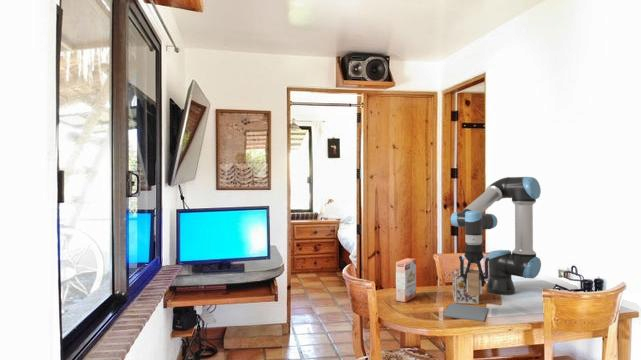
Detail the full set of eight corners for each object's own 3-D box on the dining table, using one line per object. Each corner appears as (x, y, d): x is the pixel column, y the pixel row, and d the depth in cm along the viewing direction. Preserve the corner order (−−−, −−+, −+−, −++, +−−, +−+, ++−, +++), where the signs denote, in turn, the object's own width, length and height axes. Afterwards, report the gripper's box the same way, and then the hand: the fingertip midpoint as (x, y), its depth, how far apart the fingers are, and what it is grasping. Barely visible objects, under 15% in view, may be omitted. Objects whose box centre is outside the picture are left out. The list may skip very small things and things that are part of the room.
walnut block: (470, 290, 197) (469, 269, 197) (481, 291, 194) (480, 270, 194) (467, 294, 189) (467, 273, 189) (478, 296, 186) (478, 274, 186)
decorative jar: (479, 305, 205) (478, 269, 205) (455, 304, 207) (454, 269, 207) (475, 298, 216) (474, 264, 216) (452, 297, 219) (451, 264, 219)
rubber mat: (450, 304, 206) (450, 303, 206) (488, 309, 198) (488, 307, 198) (442, 316, 189) (442, 315, 189) (484, 321, 180) (483, 320, 180)
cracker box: (406, 303, 210) (405, 263, 210) (395, 301, 213) (394, 261, 213) (417, 296, 221) (416, 258, 221) (407, 295, 225) (406, 257, 225)
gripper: (452, 243, 192) (453, 292, 192) (493, 245, 184) (494, 296, 184) (455, 241, 199) (456, 288, 199) (494, 243, 191) (495, 292, 190)
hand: (474, 292), depth 191 cm, fingers closed on walnut block, 5 cm apart
